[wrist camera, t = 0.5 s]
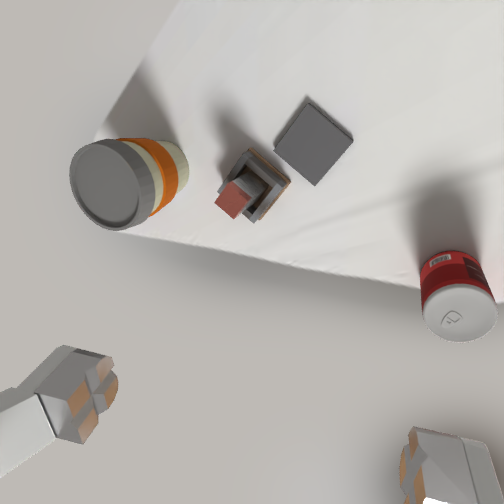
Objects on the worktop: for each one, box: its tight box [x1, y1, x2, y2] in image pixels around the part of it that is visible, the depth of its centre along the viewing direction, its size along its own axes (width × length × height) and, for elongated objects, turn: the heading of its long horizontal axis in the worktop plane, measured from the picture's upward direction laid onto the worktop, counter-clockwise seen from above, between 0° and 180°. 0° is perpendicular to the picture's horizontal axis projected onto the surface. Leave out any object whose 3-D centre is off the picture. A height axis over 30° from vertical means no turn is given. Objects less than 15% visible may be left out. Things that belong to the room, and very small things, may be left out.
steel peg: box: [214, 170, 269, 219], centre depth 52 cm, size 4×4×9 cm
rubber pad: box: [273, 103, 353, 186], centre depth 51 cm, size 8×8×1 cm
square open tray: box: [217, 148, 291, 223], centre depth 55 cm, size 8×8×4 cm
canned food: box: [420, 251, 498, 343], centre depth 47 cm, size 8×8×11 cm
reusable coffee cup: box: [69, 138, 189, 231], centre depth 55 cm, size 13×13×15 cm
